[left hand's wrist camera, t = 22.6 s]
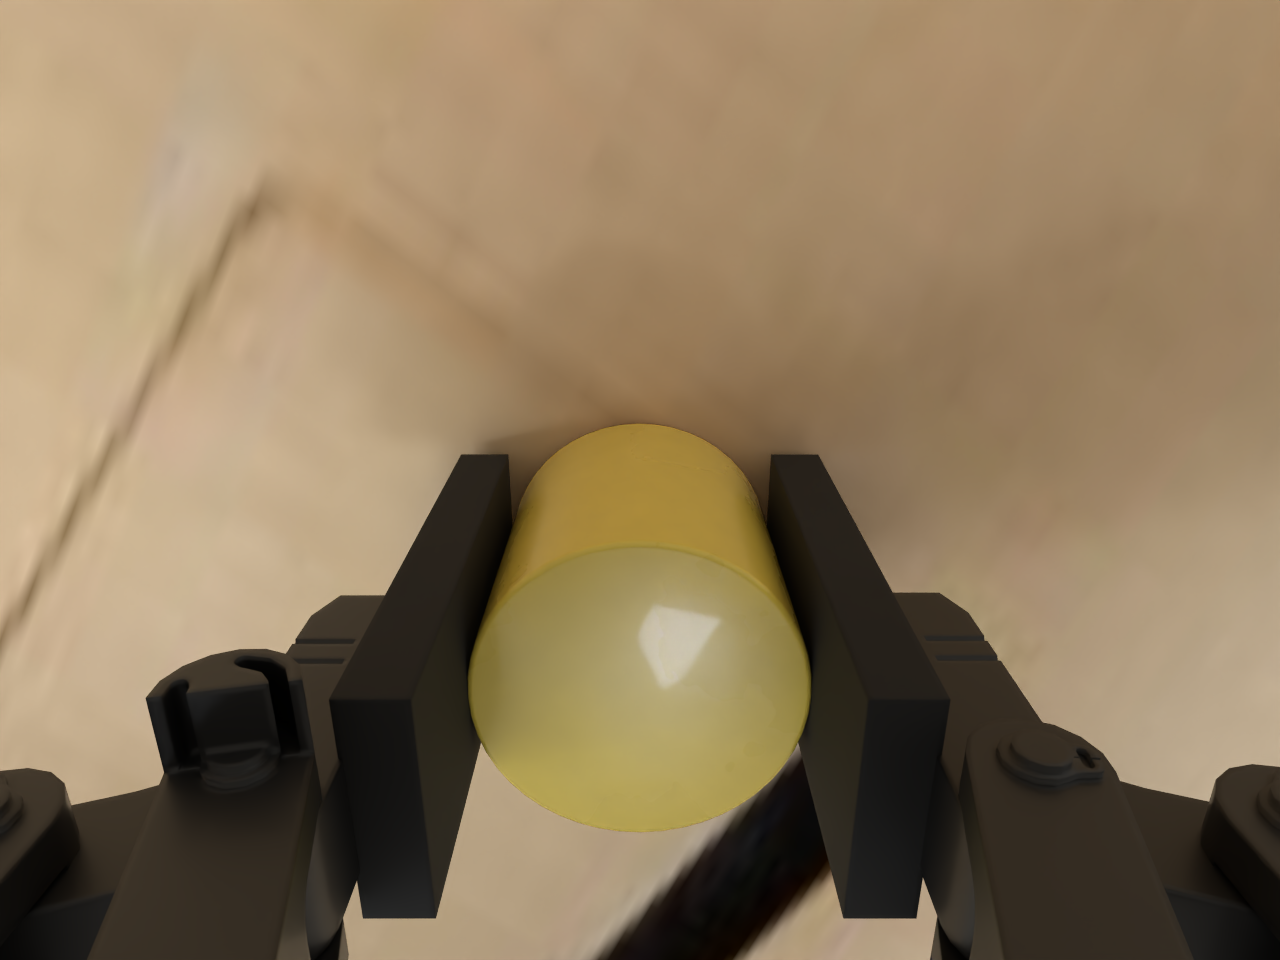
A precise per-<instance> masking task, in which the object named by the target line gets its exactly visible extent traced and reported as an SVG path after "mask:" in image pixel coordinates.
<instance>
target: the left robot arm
mask: <svg viewBox="0 0 1280 960" xmlns="http://www.w3.org/2000/svg"><path fill="white" fill-rule="evenodd" d="M511 529H512V510H511V493H510V477H509V460H508V455H461V456H460V458H459V460H458V462H457V464H456V465H455V467H454V469H453V471H452V473H451V475H450V476H449V478H448V480H447V482H446V484H445V486H444V488H443V489H442V491H441V493H440V495H439V497H438V499H437V500H436V502H435V504H434V506H433V508H432V510H431V512H430V513H429V515H428V517H427V519H426V521H425V523H424V525H423V526H422V528H421V530H420V532H419V534H418V536H417V537H416V539H415V541H414V543H413V545H412V547H411V549H410V550H409V552H408V554H407V556H406V558H405V560H404V561H403V563H402V565H401V567H400V569H399V571H398V573H397V574H396V576H395V578H394V580H393V582H392V584H391V585H390V587H389V589H388V591H387V593H386V595H385V596H339V597H338V598H336V599H335V600H333V601H332V602H331V603H329V604H328V605H326V606H325V607H323V608H322V609H320V610H319V611H318V612H316V613H315V614H313V615H312V616H311V617H310V619H309V620H308V622H307V623H306V625H305V626H304V628H303V629H302V631H301V632H300V634H299V635H298V637H297V638H296V643H295V644H292V645H291V647H290V648H289V650H288V651H287V653H286V654H284V653H280V652H276V651H272V650H268V649H239V650H234V651H229V652H224V653H219V654H214V655H210V656H207V657H205V658H202V659H200V660H197V661H195V662H192V663H190V664H187V665H185V666H182V667H181V668H179V669H178V670H176V671H175V672H173V673H171V674H170V675H168V676H167V677H165V678H164V679H162V680H161V681H159V683H158V684H157V685H156V686H155V687H154V689H153V690H152V691H151V692H150V693H149V695H148V696H147V697H146V701H147V705H148V709H149V713H150V717H151V722H152V726H153V730H154V734H155V738H156V742H157V746H158V750H159V754H160V758H161V762H162V766H163V770H164V775H163V777H162V780H161V782H160V784H159V785H158V786H154V787H151V788H147V789H144V790H140V791H136V792H132V793H128V794H123V795H118V796H114V797H109V798H104V799H100V800H95V801H90V802H86V803H81V804H76V805H72V806H71V804H70V800H69V797H68V794H67V790H66V787H65V784H64V783H63V782H62V781H61V780H60V779H59V778H57V777H56V776H55V775H54V774H53V773H52V772H47V771H41V770H36V769H30V768H25V769H16V770H6V771H0V960H348V955H349V954H348V947H347V940H346V934H345V928H344V922H343V916H344V913H345V911H346V908H347V905H348V903H349V900H350V897H351V895H352V892H353V889H354V887H355V884H356V881H357V883H358V889H359V896H360V902H361V908H362V915H363V918H436V916H437V912H438V908H439V904H440V900H441V896H442V893H443V889H444V885H445V881H446V877H447V873H448V869H449V865H450V861H451V857H452V854H453V850H454V846H455V842H456V838H457V834H458V830H459V826H460V822H461V818H462V815H463V811H464V807H465V803H466V799H467V795H468V791H469V787H470V783H471V780H472V776H473V772H474V768H475V764H476V760H477V756H478V752H479V748H480V744H481V741H480V739H479V737H478V735H477V732H476V729H475V726H474V723H473V720H472V717H471V713H470V706H469V699H468V679H467V676H468V669H469V661H470V656H471V653H472V650H473V646H474V643H475V640H476V637H477V634H478V630H479V627H480V624H481V621H482V618H483V615H484V612H485V609H486V606H487V603H488V600H489V597H490V594H491V591H492V588H493V585H494V581H495V578H496V575H497V572H498V569H499V566H500V563H501V560H502V557H503V554H504V551H505V548H506V545H507V542H508V539H509V536H510V532H511ZM767 529H768V532H769V535H770V538H771V541H772V544H773V547H774V550H775V553H776V557H777V560H778V563H779V566H780V569H781V572H782V575H783V578H784V581H785V584H786V587H787V590H788V593H789V596H790V599H791V603H792V606H793V609H794V612H795V615H796V618H797V621H798V624H799V627H800V630H801V633H802V636H803V639H804V642H805V645H806V649H807V652H808V655H809V660H810V666H811V673H812V686H811V700H810V708H809V714H808V717H807V721H806V724H805V727H804V730H803V733H802V735H801V737H800V739H799V741H798V743H799V747H800V751H801V755H802V758H803V762H804V766H805V770H806V774H807V778H808V782H809V786H810V790H811V794H812V797H813V801H814V805H815V809H816V813H817V817H818V821H819V825H820V829H821V833H822V836H823V840H824V844H825V848H826V852H827V856H828V860H829V864H830V868H831V871H832V875H833V879H834V883H835V887H836V891H837V895H838V899H839V903H840V907H841V910H842V914H843V918H916V917H917V911H918V904H919V898H920V892H921V885H922V879H924V881H925V884H926V887H927V889H928V892H929V895H930V897H931V900H932V903H933V905H934V908H935V910H936V913H937V922H936V928H935V934H934V940H933V946H932V952H931V958H930V960H1280V767H1274V766H1264V765H1255V764H1251V765H1245V766H1240V767H1234V768H1229V769H1228V770H1227V771H1225V772H1224V773H1223V774H1222V775H1221V776H1219V777H1218V778H1217V779H1216V781H1215V784H1214V788H1213V791H1212V794H1211V798H1210V801H1209V802H1207V801H1203V800H1198V799H1193V798H1189V797H1184V796H1179V795H1174V794H1170V793H1165V792H1160V791H1156V790H1151V789H1146V788H1142V787H1139V786H1135V785H1132V784H1128V783H1125V782H1121V781H1120V780H1119V778H1118V776H1117V773H1116V771H1115V770H1114V768H1113V767H1112V766H1111V764H1110V763H1109V761H1108V760H1107V759H1106V757H1105V756H1104V754H1103V753H1102V752H1100V751H1099V750H1098V749H1096V748H1095V747H1094V746H1092V745H1091V744H1090V743H1088V742H1087V741H1086V740H1084V739H1083V738H1082V737H1080V736H1078V735H1075V734H1073V733H1071V732H1069V731H1066V730H1064V729H1062V728H1060V727H1058V726H1055V725H1052V724H1047V723H1043V722H1042V721H1041V720H1040V718H1039V717H1038V715H1037V714H1036V712H1035V711H1034V709H1033V708H1032V706H1031V705H1030V703H1029V702H1028V701H1027V699H1026V698H1025V696H1024V695H1023V693H1022V692H1021V690H1020V689H1019V687H1018V686H1017V684H1016V683H1015V681H1014V680H1013V678H1012V677H1011V675H1010V674H1009V672H1008V671H1007V669H1006V668H1005V666H1004V665H1003V663H1002V662H1001V661H998V660H997V655H996V653H995V652H994V650H993V649H992V647H991V646H990V644H989V643H988V641H984V635H983V634H982V632H981V631H980V629H979V628H978V626H977V625H976V623H975V622H974V620H973V619H972V617H971V616H970V614H969V613H968V612H966V611H965V610H963V609H962V608H961V607H959V606H958V605H956V604H955V603H953V602H952V601H950V600H949V599H947V598H946V597H945V596H943V595H942V594H940V593H893V592H892V590H891V589H890V587H889V585H888V583H887V581H886V579H885V577H884V576H883V574H882V572H881V570H880V568H879V566H878V564H877V563H876V561H875V559H874V557H873V555H872V553H871V552H870V550H869V548H868V546H867V544H866V542H865V540H864V539H863V537H862V535H861V533H860V531H859V529H858V528H857V526H856V524H855V522H854V520H853V518H852V516H851V515H850V513H849V511H848V509H847V507H846V505H845V504H844V502H843V500H842V498H841V496H840V494H839V492H838V491H837V489H836V487H835V485H834V483H833V481H832V479H831V478H830V476H829V474H828V472H827V470H826V468H825V467H824V465H823V463H822V461H821V459H820V457H819V455H771V466H770V483H769V500H768V517H767Z"/></svg>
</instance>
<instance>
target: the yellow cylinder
mask: <svg viewBox="0 0 1280 960" xmlns="http://www.w3.org/2000/svg"><path fill="white" fill-rule="evenodd" d="M467 679H468V699H469V706H470V713H471V717H472V720H473V723H474V726H475V729H476V732H477V735H478V737H479V739H480V741H481V743H482V745H483V747H484V749H485V751H486V753H487V754H488V755H489V757H490V758H491V760H492V761H493V763H494V764H495V766H496V767H497V768H498V769H499V771H500V772H501V773H502V774H503V775H504V776H505V777H506V778H507V779H508V780H509V782H510V783H511V784H513V785H514V786H515V787H516V788H517V789H518V790H520V791H521V792H522V793H523V794H524V795H526V796H527V797H529V798H530V799H532V800H533V801H535V802H536V803H538V804H539V805H541V806H542V807H544V808H546V809H548V810H550V811H552V812H554V813H556V814H558V815H560V816H562V817H565V818H568V819H570V820H573V821H575V822H578V823H581V824H585V825H589V826H593V827H597V828H602V829H608V830H615V831H625V832H653V831H665V830H671V829H677V828H683V827H687V826H690V825H694V824H697V823H701V822H704V821H707V820H709V819H712V818H714V817H717V816H719V815H722V814H724V813H726V812H727V811H729V810H731V809H733V808H735V807H737V806H739V805H740V804H742V803H743V802H745V801H746V800H748V799H749V798H751V797H752V796H753V795H755V794H756V793H757V792H759V791H760V790H761V789H762V788H763V787H764V786H765V785H766V784H768V783H769V782H770V781H771V780H772V779H773V778H774V776H775V775H776V774H777V773H778V772H779V771H780V770H781V768H782V767H783V766H784V765H785V763H786V762H787V760H788V759H789V757H790V756H791V754H792V753H793V751H794V749H795V747H796V745H797V743H798V741H799V739H800V737H801V735H802V733H803V730H804V727H805V724H806V721H807V717H808V714H809V708H810V700H811V686H812V673H811V666H810V660H809V655H808V652H807V649H806V645H805V642H804V639H803V636H802V633H801V630H800V627H799V624H798V621H797V618H796V615H795V612H794V609H793V606H792V603H791V599H790V596H789V593H788V590H787V587H786V584H785V581H784V578H783V575H782V572H781V569H780V566H779V563H778V560H777V557H776V553H775V550H774V547H773V544H772V541H771V538H770V535H769V532H768V529H767V526H766V523H765V520H764V517H763V514H762V510H761V507H760V504H759V501H758V498H757V496H756V494H755V492H754V490H753V488H752V486H751V484H750V483H749V481H748V480H747V478H746V477H745V475H744V474H743V472H742V471H741V470H740V469H739V468H738V467H737V465H736V464H735V463H734V462H733V461H732V460H731V459H730V458H729V457H728V456H726V455H725V454H724V453H723V452H722V451H720V450H719V449H718V448H716V447H715V446H713V445H712V444H710V443H708V442H707V441H705V440H704V439H701V438H699V437H697V436H695V435H693V434H691V433H688V432H685V431H682V430H679V429H676V428H672V427H667V426H661V425H655V424H626V425H618V426H613V427H608V428H603V429H600V430H597V431H594V432H591V433H589V434H586V435H584V436H582V437H580V438H578V439H576V440H574V441H572V442H571V443H569V444H568V445H566V446H565V447H563V448H562V449H560V450H559V451H558V452H556V453H555V454H554V455H553V456H552V457H551V458H549V459H548V460H547V461H546V462H545V463H544V465H543V466H542V467H541V468H540V469H539V470H538V471H537V473H536V474H535V476H534V477H533V479H532V480H531V482H530V483H529V485H528V486H527V488H526V491H525V493H524V495H523V497H522V499H521V502H520V505H519V508H518V511H517V514H516V517H515V520H514V523H513V526H512V529H511V532H510V536H509V539H508V542H507V545H506V548H505V551H504V554H503V557H502V560H501V563H500V566H499V569H498V572H497V575H496V578H495V581H494V585H493V588H492V591H491V594H490V597H489V600H488V603H487V606H486V609H485V612H484V615H483V618H482V621H481V624H480V627H479V630H478V634H477V637H476V640H475V643H474V646H473V650H472V653H471V656H470V661H469V669H468V676H467Z"/></svg>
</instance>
